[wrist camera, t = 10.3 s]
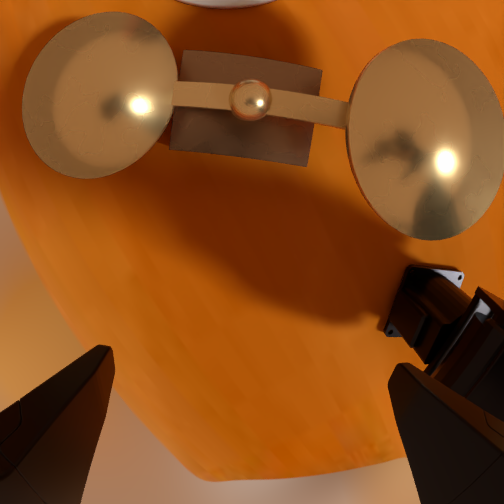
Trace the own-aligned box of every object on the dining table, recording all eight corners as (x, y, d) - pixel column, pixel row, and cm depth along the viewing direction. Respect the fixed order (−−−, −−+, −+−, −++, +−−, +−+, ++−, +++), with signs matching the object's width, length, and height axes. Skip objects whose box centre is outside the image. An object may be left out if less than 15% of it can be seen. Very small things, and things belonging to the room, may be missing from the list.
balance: (429, 89, 18) (514, 85, 10) (407, 207, 21) (483, 250, 13) (69, 38, 15) (-4, 6, 7) (54, 164, 18) (-26, 192, 10)
